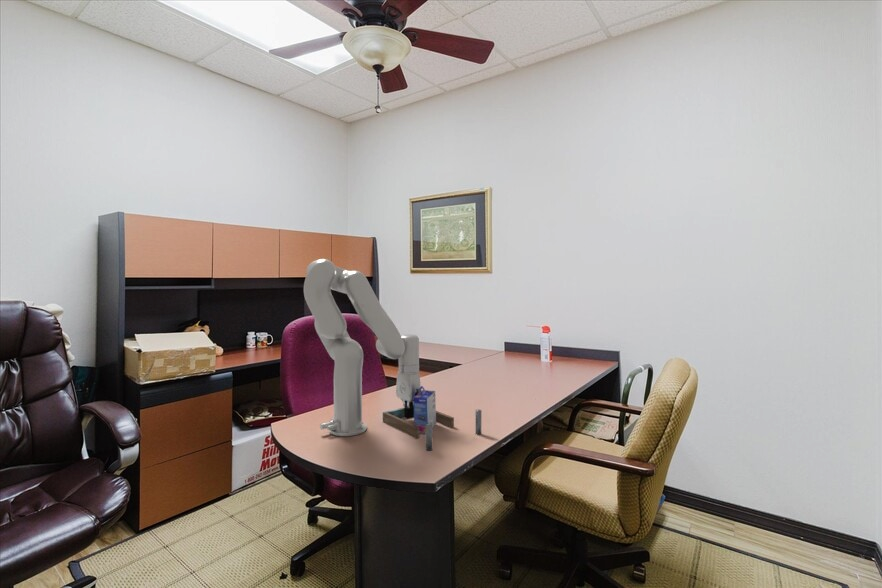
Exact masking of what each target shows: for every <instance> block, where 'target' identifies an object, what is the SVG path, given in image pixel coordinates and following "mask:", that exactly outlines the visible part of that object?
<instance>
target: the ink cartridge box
mask: <svg viewBox="0 0 882 588" xmlns="http://www.w3.org/2000/svg"><path fill="white" fill-rule="evenodd" d="M419 390H420V393H418V394H417V395H416V396H415V397H414V398H413V400H414V417H413V425H416V426H418V427H419V433H421V434H426V423H432V429H434V427H435V426H436V425H437V422H436V411H437V409H436V407H437V402H436V401H437V400H436V391H435V390H427V389H425V388H424V386H423V385H421V387H420V388H419Z"/></svg>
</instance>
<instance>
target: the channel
mask: <svg viewBox="0 0 882 588" xmlns="http://www.w3.org/2000/svg"><path fill="white" fill-rule="evenodd" d="M404 419H405V418H404V407H401V408H395V409H391V410H387V411H384V412H382V423H384V424H387V426H389V427H392V428H394V429H396V430H398V431H400V432H401V433H402V432H403V433H404V434H406V435H408V436H411V437H413V438H414V439H418V438H420V432H419V427H418V426H416V425H414V423H411V422H410V421H407V420H404ZM436 423H438V424H440V425H443V426H445V427H448V428H449V429H453V428H455V417H454V416H451V415H449V414H445V413H443V412H441V411H438V410H436Z"/></svg>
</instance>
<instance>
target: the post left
mask: <svg viewBox="0 0 882 588" xmlns="http://www.w3.org/2000/svg"><path fill="white" fill-rule="evenodd" d="M425 451H428V452H431V451H433V428H432V423H426V433H425Z"/></svg>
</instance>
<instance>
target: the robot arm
mask: <svg viewBox="0 0 882 588" xmlns="http://www.w3.org/2000/svg"><path fill="white" fill-rule="evenodd" d="M305 272H306V276H305V279H304V282H303V296H304V300H305V302H306V305H307V307H308V309H309V311H310V313H311V314H312V316H313V318H314V319H313V320H314V329H315V331H316V334H317V336H318V337H319V339H320V341H321V343H322V345H323V346H324V348H325V350H326V352H327V353H328V355H329V357H330V358H331V359H332V360H333V361H334V368H333V417H331V419H330V420H329V421H328V422H323V423H320V424H319V428H320V430H326V429H327V431H328V432H329V433H330V434H331V435H333V436H336V437H337V436H338V437H352V436H357V435H360V434H363V433H364V432H366V430H367V428H368V427H367V424H366V423H365V422H363V384H362V382H363V376H362V375H363V365H364V351H363V348H362V346H361V345H360V343H359V342H358V341H356V340H355V339H352V338H351V337H350V335H349V333H348V330H347V328H348V326H347V325H348V324H347V321H346V318H345V317H344V315H343V313H342V311H341V310H340V308H339V306H338V305H337V303H336V301H335V298H334V295H332V291H336V292H338V293H342V294H345V295H347V297H348V299H349V300H350V302H351V304H352V306H353V308H354V309H355V312H356V313H357V315H358V317H359V319H361V321H362V322H363V324H365V325H366V326H367V327H368V328H370V330H371V331H372V332H373V333H374V334H375V336H376V338H377V340H376V341H375V348H376V351H377V352H378V353H379V354H381V355H383V356H385V357H387V358H388V359H392V360H398V371H397V376H396V383H395V384H396V386H395V395H396V397H397V398H398V399H400V400H401V401H402V405H403V408H404V418H403V419H407V420H409V419H414V400H413V398H414V397H415V396H416V395H417V394H418V393H420V390H419V388H420V387H421V386H422V385H421V377H420V338H419V336H418V335H417V334H416V335H415V334H402V335H401V334H400V332H399V330H398V328H397V326H396V324H395V323H394V321H393V319H391V317H390V316H389V315H388V313H387V312H386V310H385V309H384V308H383V306H382V305H381V304H382V303H380V301H379V299H378V297H377V294H375V292H374V290H373V288H372V286H371V284H370V283H369V280H368V278H367V277H366V276H365V274H364V273H363V272H362V271H360V270H347V269H345V268H341V267H339V266H336V265H335V264H334V262H332V261H331V260H329V259H326V258H320V259H316V260H314V261H312V262H310V263H309V264H308V265H307V267H306V271H305Z"/></svg>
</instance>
